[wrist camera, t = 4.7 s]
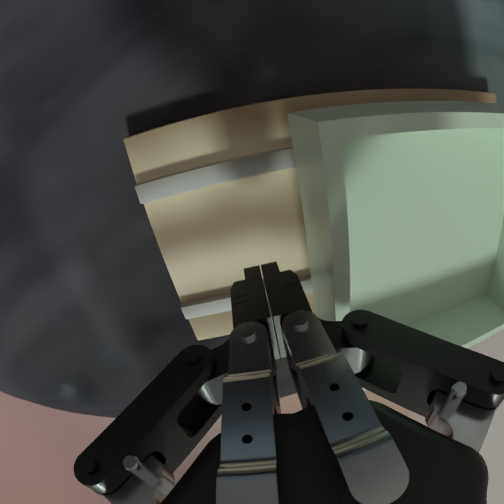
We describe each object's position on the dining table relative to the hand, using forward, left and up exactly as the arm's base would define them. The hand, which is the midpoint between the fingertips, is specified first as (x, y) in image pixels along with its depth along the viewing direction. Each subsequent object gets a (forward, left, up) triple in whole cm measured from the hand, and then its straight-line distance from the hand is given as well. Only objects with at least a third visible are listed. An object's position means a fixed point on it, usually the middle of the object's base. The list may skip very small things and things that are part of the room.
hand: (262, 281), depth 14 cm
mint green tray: (0, +9, -3) cm, 10 cm away
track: (0, +7, -5) cm, 8 cm away
